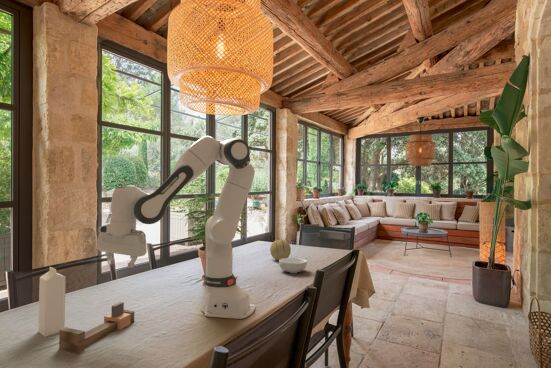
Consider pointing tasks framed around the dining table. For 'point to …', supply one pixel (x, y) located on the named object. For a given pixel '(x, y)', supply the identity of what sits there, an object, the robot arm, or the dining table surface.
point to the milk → (51, 303)
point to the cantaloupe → (280, 249)
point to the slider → (119, 316)
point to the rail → (86, 335)
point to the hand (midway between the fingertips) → (120, 265)
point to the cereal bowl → (292, 264)
